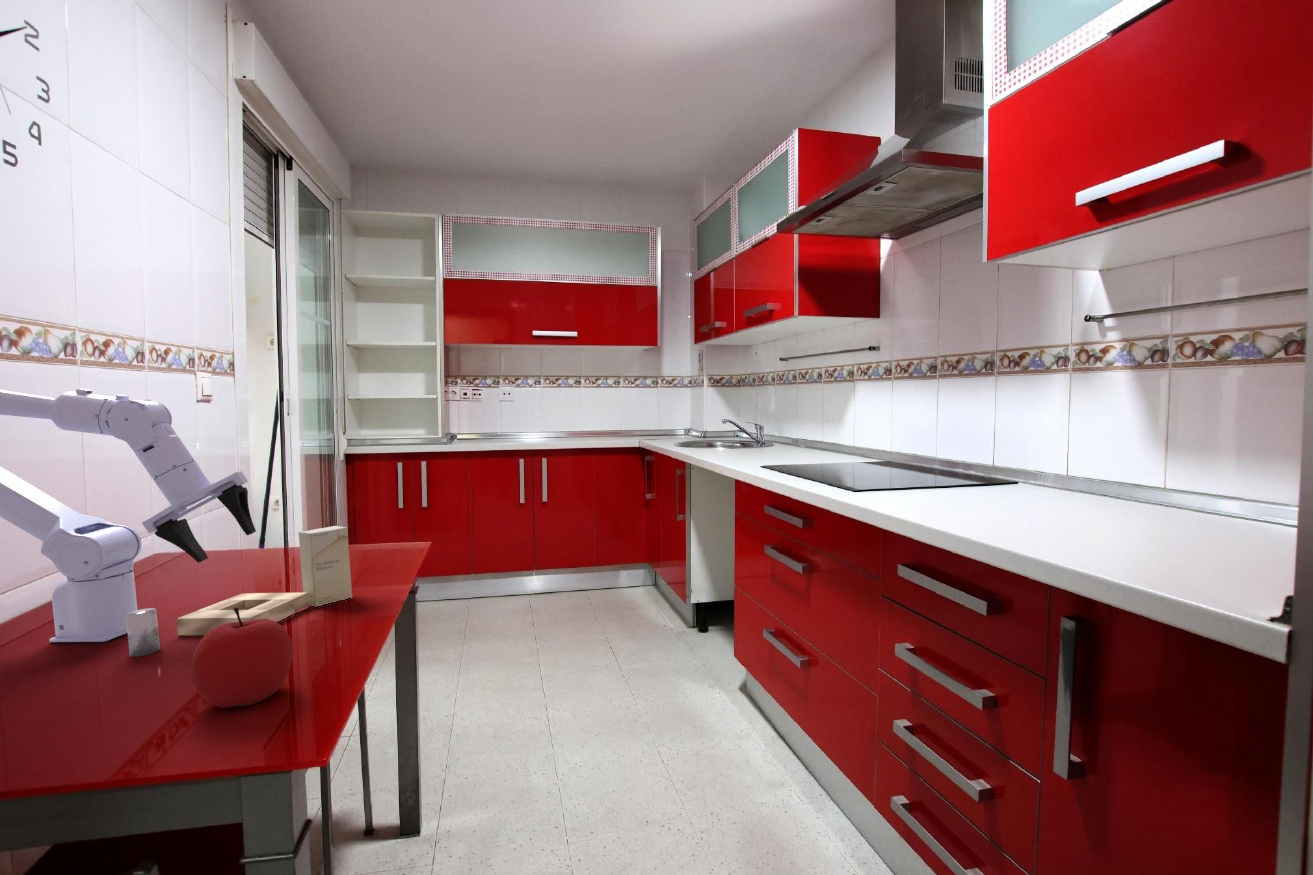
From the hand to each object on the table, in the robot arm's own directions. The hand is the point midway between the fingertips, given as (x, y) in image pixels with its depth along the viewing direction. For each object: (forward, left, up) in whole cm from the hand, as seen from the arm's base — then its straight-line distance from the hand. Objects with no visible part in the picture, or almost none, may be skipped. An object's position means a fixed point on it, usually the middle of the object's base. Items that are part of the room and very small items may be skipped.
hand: (227, 546), depth 97 cm
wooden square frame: (+3, -1, -11) cm, 12 cm away
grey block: (-2, -13, -11) cm, 17 cm away
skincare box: (+10, +8, -12) cm, 17 cm away
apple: (+25, -26, -12) cm, 38 cm away
